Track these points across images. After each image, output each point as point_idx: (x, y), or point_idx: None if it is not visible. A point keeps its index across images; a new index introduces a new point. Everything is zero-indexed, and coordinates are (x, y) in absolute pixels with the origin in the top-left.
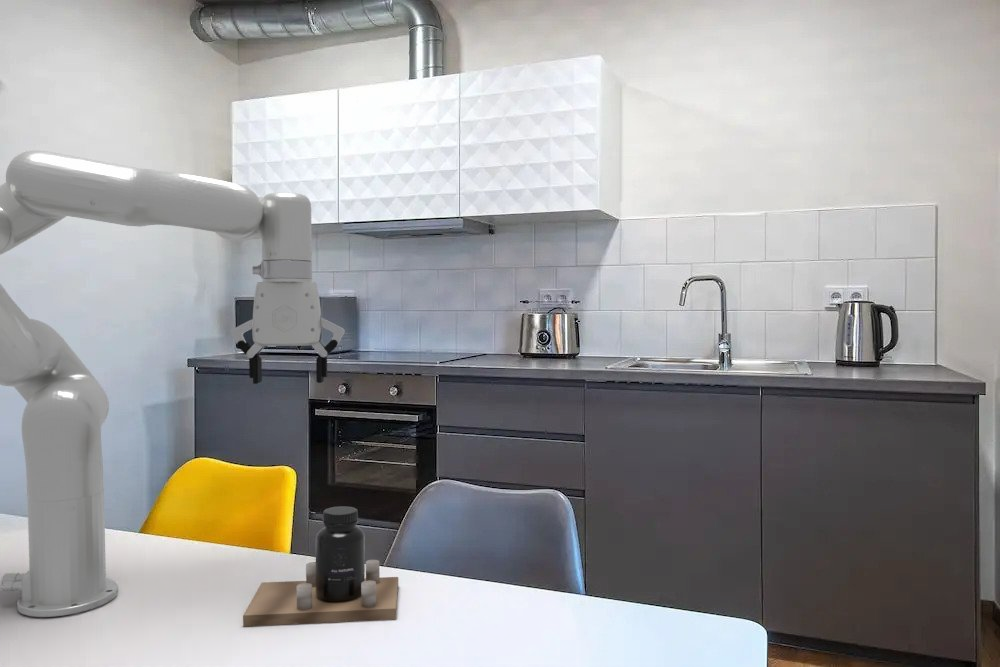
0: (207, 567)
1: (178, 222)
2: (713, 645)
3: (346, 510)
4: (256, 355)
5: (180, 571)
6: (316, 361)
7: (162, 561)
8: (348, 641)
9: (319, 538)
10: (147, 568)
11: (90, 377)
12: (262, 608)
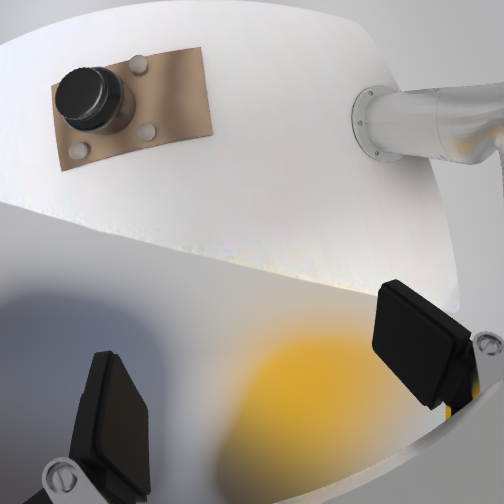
0: (301, 210)
1: None
2: None
3: (69, 94)
4: (463, 366)
5: (323, 197)
6: (101, 435)
7: (350, 226)
8: (92, 37)
9: (113, 72)
10: (356, 205)
11: None
12: (185, 63)
